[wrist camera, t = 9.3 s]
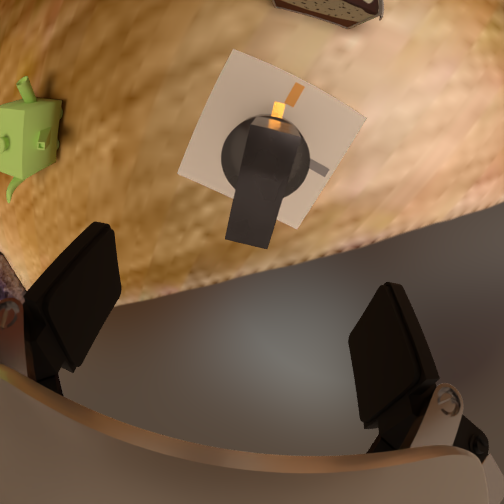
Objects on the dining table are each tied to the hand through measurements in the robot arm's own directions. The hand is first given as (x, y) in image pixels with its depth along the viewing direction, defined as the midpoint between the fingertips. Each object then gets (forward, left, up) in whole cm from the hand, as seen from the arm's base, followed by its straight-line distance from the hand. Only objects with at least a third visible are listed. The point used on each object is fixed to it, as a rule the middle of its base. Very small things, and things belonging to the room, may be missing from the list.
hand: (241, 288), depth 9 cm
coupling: (0, +1, -21) cm, 21 cm away
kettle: (-38, -1, -28) cm, 47 cm away
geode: (-64, -44, -29) cm, 83 cm away
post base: (0, 0, -28) cm, 28 cm away
